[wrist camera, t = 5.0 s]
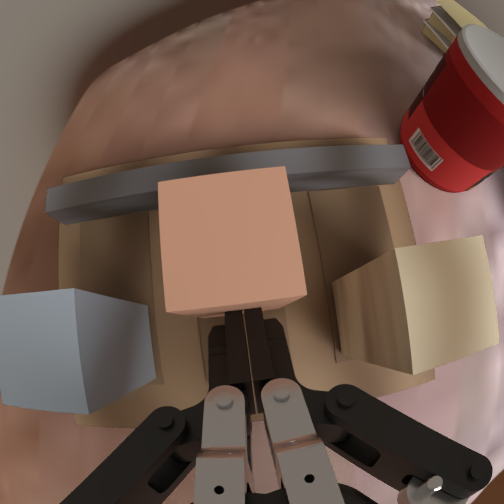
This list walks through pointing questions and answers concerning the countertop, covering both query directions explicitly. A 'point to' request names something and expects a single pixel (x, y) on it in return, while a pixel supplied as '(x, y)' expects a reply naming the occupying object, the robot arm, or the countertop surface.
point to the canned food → (459, 114)
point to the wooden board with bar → (290, 316)
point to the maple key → (418, 306)
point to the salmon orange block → (229, 243)
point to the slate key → (72, 350)
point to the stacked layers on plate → (447, 23)
